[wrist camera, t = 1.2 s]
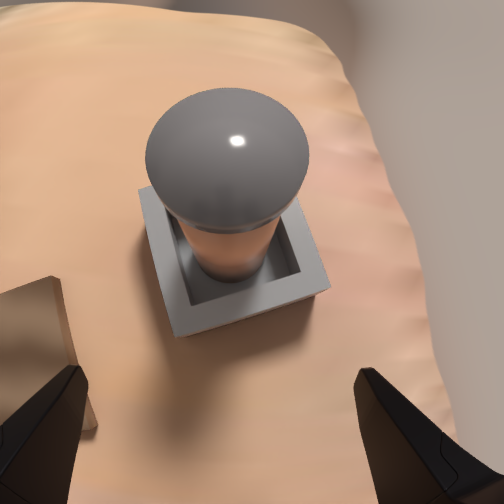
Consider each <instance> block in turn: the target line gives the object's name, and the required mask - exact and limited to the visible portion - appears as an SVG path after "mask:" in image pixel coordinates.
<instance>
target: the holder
mask: <svg viewBox="0 0 504 504" xmlns="http://www.w3.org/2000/svg"><path fill="white" fill-rule="evenodd" d="M138 192H139V197H140V202H141V207H142V212H143V217H144V221H145V226H146V230H147V235H148V239H149V244H150V248H151V252H152V256H153V260H154V264H155V268H156V272H157V276H158V280H159V284H160V288H161V292H162V295H163V299H164V302H165V306H166V310H167V313H168V317H169V320H170V324H171V327H172V330H173V334H174V337H187V336H190V335H194V334H197V333H200V332H204V331H207V330H210V329H214V328H217V327H220V326H224V325H227V324H230V323H233V322H237V321H240V320H243V319H246V318H249V317H252V316H256V315H259V314H262V313H265V312H268V311H271V310H274V309H277V308H280V307H283V306H286V305H289V304H292V303H295V302H298V301H301V300H303V299H306V298H309V297H312V296H315V295H317V294H319V293H321V292H323V291H325V290H327V289H328V288H330V287H331V285H330V282H329V280H328V277H327V274H326V271H325V269H324V266H323V263H322V260H321V258H320V255H319V252H318V250H317V247H316V244H315V242H314V239H313V236H312V234H311V231H310V229H309V226H308V224H307V221H306V218H305V216H304V213H303V211H302V208H301V206H300V203H299V201H298V198H297V196H296V197H295V199H294V201H293V202H292V203H291V205H290V206H289V207H288V208H287V210H285V211H284V212H283V213H282V214H281V216H280V218H279V221H278V224H277V226H276V229H275V231H274V234H273V237H272V239H271V242H270V245H269V247H268V250H267V252H266V255H265V258H264V260H263V262H262V265H261V266H260V268H259V269H258V271H257V272H256V273H255V274H254V275H253V276H251V277H250V278H248V279H246V280H244V281H242V282H238V283H222V282H219V281H216V280H214V279H212V278H210V277H209V276H208V275H206V274H205V273H204V272H203V270H202V269H201V268H200V266H199V264H198V262H197V260H196V258H195V256H194V254H193V252H192V250H191V247H190V245H189V243H188V241H187V239H186V237H185V235H184V233H183V230H182V228H181V226H180V224H179V222H178V220H177V218H176V217H174V216H173V215H172V214H171V213H170V212H169V211H168V210H167V209H166V208H165V207H164V205H163V204H162V202H161V201H160V200H159V198H158V196H157V194H156V192H155V190H154V188H153V186H148V187H145V188H142V189H139V190H138Z"/></svg>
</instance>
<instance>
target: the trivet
mask: <svg viewBox="0 0 504 504" xmlns="http://www.w3.org/2000/svg"><path fill="white" fill-rule="evenodd" d="M68 364H75V365H79V364H78V361H77V357H76V353H75V349H74V345H73V341H72V337H71V333H70V329H69V324H68V319H67V315H66V310H65V305H64V299H63V294H62V288H61V282H60V279H59V278H56V277H54V276H48V277H45V278H42V279H40V280H37V281H34V282H31V283H28V284H26V285H23V286H20V287H17V288H15V289H12V290H9V291H7V292H4V293H1V294H0V425H1V424H2V425H3V422H4V421H5V420H6V419H8V418H9V417H10V416H11V415H12V414H13V413H14V412H15V411H16V410H17V409H19V408H20V407H21V406H22V405H23V404H24V403H25V402H26V401H27V400H28V399H30V398H31V397H32V396H33V395H34V394H35V393H36V392H37V391H38V390H40V389H41V388H42V387H43V386H44V385H45V384H46V383H47V382H49V381H50V380H51V379H52V378H53V377H54V376H55V375H56V374H58V373H59V372H60V371H61V370H62V369H63V368H64V367H66V366H67V365H68ZM97 425H98V423H97V420H96V418H95V415H94V412H93V409H92V406H91V403H90V400H89V397H88V394H87V399H86V406H85V413H84V421H83V427H82V431H84V430H91V429H92V428H94V427H96V426H97Z"/></svg>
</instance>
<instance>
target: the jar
mask: <svg viewBox="0 0 504 504" xmlns="http://www.w3.org/2000/svg"><path fill="white" fill-rule="evenodd" d="M145 162H146V170H147V173H148V177H149V179H150V182H151V184H152V186H153V188H154V190H155V192H156V194H157V196H158V198H159V200H160V201H161V202H162V204H163V205H164V207H165V208H166V209H167V210H168V211H169V212H170V213H171V214H172V215H173V216H174V217H176V218H177V220H178V222H179V224H180V226H181V228H182V230H183V233H184V235H185V237H186V239H187V241H188V243H189V245H190V247H191V250H192V252H193V254H194V256H195V258H196V260H197V262H198V264H199V266H200V268H201V269H202V270H203V272H204V273H205V274H206V275H208V276H209V277H210V278H212V279H214V280H216V281H219V282H222V283H238V282H242V281H244V280H246V279H248V278H250V277H251V276H253V275H254V274H255V273H256V272H257V271H258V269H259V268H260V266H261V265H262V262H263V260H264V258H265V255H266V252H267V250H268V247H269V245H270V242H271V239H272V237H273V234H274V231H275V229H276V226H277V224H278V221H279V218H280V216H281V214H282V213H283V212H284V211H285V210H287V208H288V207H289V206H290V205H291V203H292V202H293V201H294V199H295V197H296V196H297V194H298V192H299V189H300V187H301V185H302V182H303V180H304V178H305V175H306V173H307V169H308V164H309V146H308V142H307V138H306V135H305V133H304V130H303V128H302V126H301V125H300V123H299V121H298V120H297V119H296V118H295V116H294V115H293V114H292V113H291V112H290V111H289V110H288V109H287V108H286V107H284V106H283V105H282V104H280V103H279V102H277V101H276V100H274V99H272V98H270V97H268V96H266V95H264V94H261V93H258V92H255V91H251V90H246V89H239V88H218V89H212V90H206V91H203V92H199V93H196V94H194V95H191V96H189V97H187V98H185V99H183V100H181V101H180V102H178V103H177V104H175V105H174V106H172V107H171V108H170V109H169V110H168V111H167V112H166V113H165V114H164V115H163V116H162V117H161V118H160V119H159V121H158V122H157V123H156V125H155V126H154V128H153V130H152V132H151V134H150V137H149V139H148V142H147V147H146V155H145Z"/></svg>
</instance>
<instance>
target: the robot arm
mask: <svg viewBox="0 0 504 504" xmlns="http://www.w3.org/2000/svg"><path fill="white" fill-rule="evenodd" d="M87 393H88V380H87V378H86V376H85V374H84V372H83V370H82V368H81V366H80V365H75V364H68V365H67V366H66V367H64V368H63V369H62V370H61V371H60V372H59V373H58V374H56V375H55V376H54V377H53V378H52V379H51V380H50V381H49V382H47V383H46V384H45V385H44V386H43V387H42V388H41V389H40V390H38V391H37V392H36V393H35V394H34V395H33V396H32V397H31V398H30V399H28V400H27V401H26V402H25V403H24V404H23V405H22V406H21V407H20V408H19V409H17V410H16V411H15V412H14V413H13V414H12V415H11V416H10V417H9V418H8V419H6V420H5V421H4V422H3V425H2V424H1V425H0V504H67V500H68V494H69V488H70V483H71V477H72V472H73V467H74V462H75V458H76V453H77V448H78V444H79V440H80V435H81V431H82V427H83V421H84V413H85V406H86V399H87ZM354 396H355V402H356V408H357V415H358V422H359V428H360V432H361V436H362V440H363V444H364V447H365V451H366V455H367V459H368V463H369V466H370V470H371V474H372V478H373V482H374V486H375V490H376V494H377V499H378V503H379V504H504V475H502V474H499V473H497V472H495V471H493V470H492V469H490V468H489V467H487V466H486V465H485V464H483V463H481V462H480V461H479V460H478V459H476V458H475V457H473V456H472V455H471V454H469V453H468V452H467V451H465V450H464V449H463V448H461V447H460V446H459V445H458V444H457V443H455V442H454V441H453V440H452V439H451V438H450V437H449V436H447V435H446V434H445V433H444V432H442V430H441V429H440V428H439V427H437V426H436V425H435V424H434V423H433V422H432V421H431V420H430V419H429V418H428V417H427V416H425V415H424V414H423V413H422V412H421V411H420V410H419V409H418V408H417V407H416V406H414V405H413V404H412V403H411V402H410V401H409V400H408V399H407V398H406V397H405V396H404V395H402V394H401V393H400V392H399V391H398V390H397V389H396V388H395V387H394V386H393V385H392V384H390V383H389V382H388V381H387V380H386V379H385V378H384V377H383V376H382V375H381V374H380V373H378V372H377V371H376V370H375V369H374V368H372V367H368V368H361V369H360V370H359V373H358V375H357V378H356V380H355V383H354Z"/></svg>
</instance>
